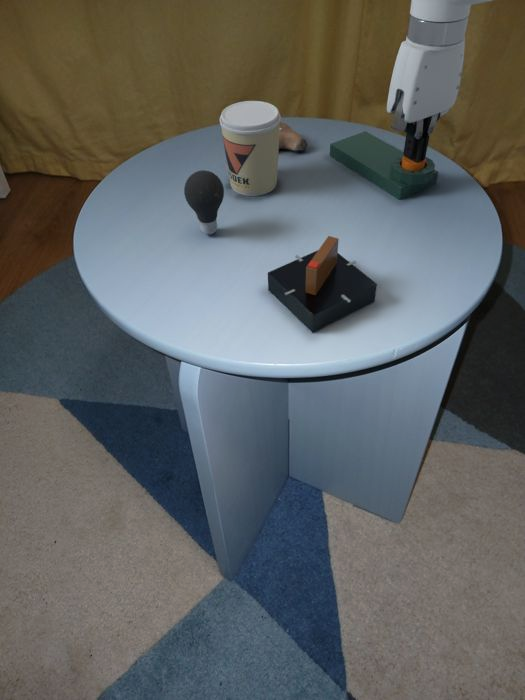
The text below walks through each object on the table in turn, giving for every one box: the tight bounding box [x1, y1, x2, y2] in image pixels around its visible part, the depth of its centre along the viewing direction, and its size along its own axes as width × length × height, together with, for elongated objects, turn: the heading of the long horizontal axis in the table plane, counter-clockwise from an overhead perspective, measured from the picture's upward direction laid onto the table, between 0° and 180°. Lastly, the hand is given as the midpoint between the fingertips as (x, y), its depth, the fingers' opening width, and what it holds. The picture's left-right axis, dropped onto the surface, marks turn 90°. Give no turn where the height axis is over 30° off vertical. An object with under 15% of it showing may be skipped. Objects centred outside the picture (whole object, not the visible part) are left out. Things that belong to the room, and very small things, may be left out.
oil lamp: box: [279, 121, 308, 152], centre depth 100 cm, size 9×4×8 cm
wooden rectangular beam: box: [306, 235, 339, 295], centre depth 69 cm, size 7×1×4 cm, turn 153°
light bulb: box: [183, 169, 225, 236], centre depth 80 cm, size 6×6×10 cm
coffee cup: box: [219, 100, 282, 197], centre depth 88 cm, size 9×9×12 cm
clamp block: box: [267, 249, 378, 334], centre depth 72 cm, size 11×11×3 cm
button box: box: [329, 130, 439, 200], centre depth 93 cm, size 19×8×4 cm, turn 33°
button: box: [401, 156, 426, 171], centre depth 87 cm, size 4×4×2 cm
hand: (413, 157), depth 87 cm, fingers closed
